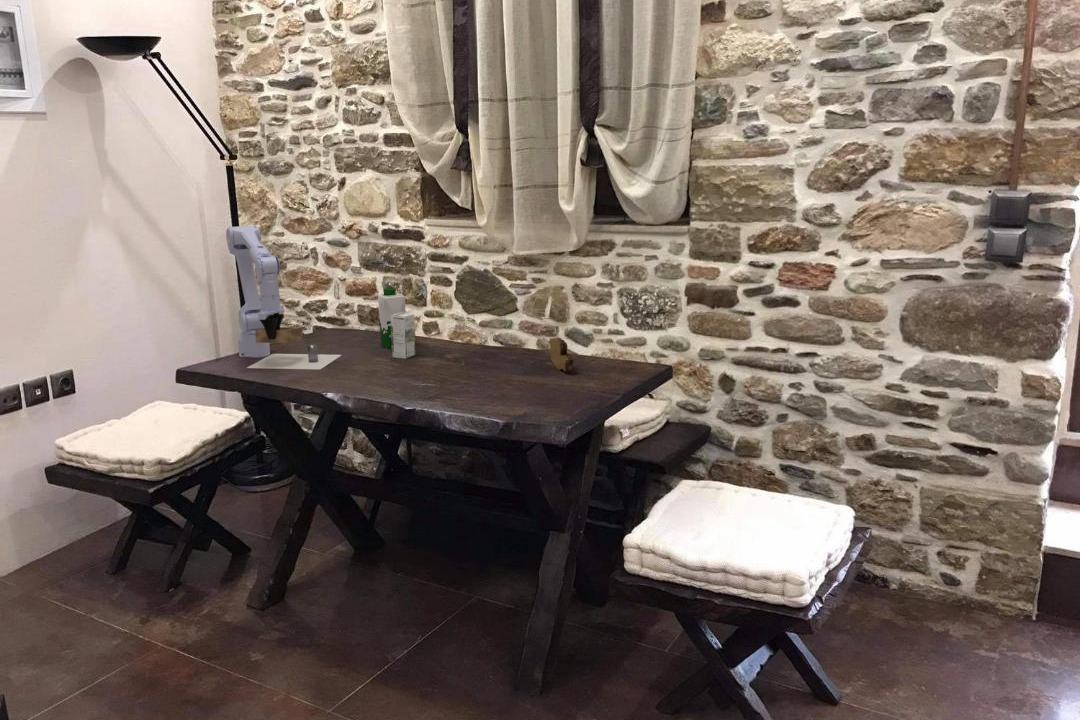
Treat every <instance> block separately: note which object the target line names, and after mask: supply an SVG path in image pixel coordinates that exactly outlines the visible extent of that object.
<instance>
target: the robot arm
mask: <svg viewBox="0 0 1080 720" xmlns="http://www.w3.org/2000/svg"><path fill="white" fill-rule="evenodd" d="M225 231H226V233H225V234H226V243H227V247H228V251H229V254H231V255H233V256H234V257H235V259H236V263H237V267H238V268H237V269H238V272H239V278H240V283H241V290H242V294H243V297H244V299H243V300H244V305H242V307H240V309H239V310H238V312H237V313H238V323H239V329H240V330H241V332H240V333H239V335H238V338H237V346H238V355H239V358H263V357H264V358H266V357H268V356H269V355H271V349H270V346H271V345H270V343H256V336H255V330H258V329H263V328H265V331H266V334H267V337H268V339H275V338H276V330H280V327H281V325H282V322H283V319H284V316H285V315H284V313H283V312H285V308H284V305H281V298H280V286H279V284H280V283H279V275H280V272H281V266H280V265H281V264H280V259H279V257H278V256H277V255H272V253H271V252H270V251H269V250H268V248H267V246H266V245H264V244H262V243H261V241H262V240H261V230H260V228H259V226H258V225H257V224H254V225H243V226H238V225H237V226H228V227H227V228H226V230H225ZM253 263H254V265H253ZM256 279H257V280H256ZM257 282H258V284H259V285H258V284H257ZM258 286H259V287H258ZM258 288H259V290H258Z"/></svg>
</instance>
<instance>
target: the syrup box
mask: <svg viewBox="0 0 1080 720" xmlns="http://www.w3.org/2000/svg"><path fill="white" fill-rule="evenodd" d="M415 327H416V326H415V314H414V313H411V312H406V313H404V312H403V313H397V314H394V315H391V343H392V348H391V358H395V359H408V358H411V357H415V356H416V333H415V332H416V330H415Z"/></svg>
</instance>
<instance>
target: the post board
mask: <svg viewBox="0 0 1080 720" xmlns="http://www.w3.org/2000/svg"><path fill="white" fill-rule="evenodd" d="M341 356H342V354H319V352H318V345H317V344H308V345H307V353H270V355H268V356H265V357H264V358H262V359H261V360H259V361H257V362H255V363H253V364H251V365H249V366H247V367H246V369H271V370H272V369H277V370H281V369H282V370H321V369H323V368H325V367H326V366H327V365H330V363H332V362H334V361H335V360H337V359H339V358H340V357H341Z"/></svg>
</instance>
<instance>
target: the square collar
mask: <svg viewBox="0 0 1080 720" xmlns="http://www.w3.org/2000/svg"><path fill="white" fill-rule="evenodd" d="M303 331H304V329H303V327H300V326H299V327H297V326H296V327H295V326H293V327H292V326H291V327H287V326H286V327H285V326H280V330H276V338H275V339H268V337H267V334H266V331H265V328H263V329H258V330H255V336H256V343H269V344H290V343H294V342H298V341H303V340H304V335H303V333H304V332H303Z"/></svg>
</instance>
